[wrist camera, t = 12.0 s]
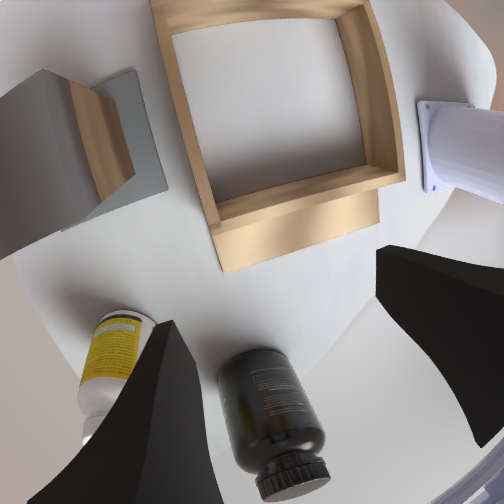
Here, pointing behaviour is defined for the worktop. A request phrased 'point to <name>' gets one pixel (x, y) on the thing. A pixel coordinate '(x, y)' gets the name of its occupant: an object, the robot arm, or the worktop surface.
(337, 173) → the wooden tray
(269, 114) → the worktop surface
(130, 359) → the supplement bottle
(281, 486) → the supplement bottle
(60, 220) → the block
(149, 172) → the pad
